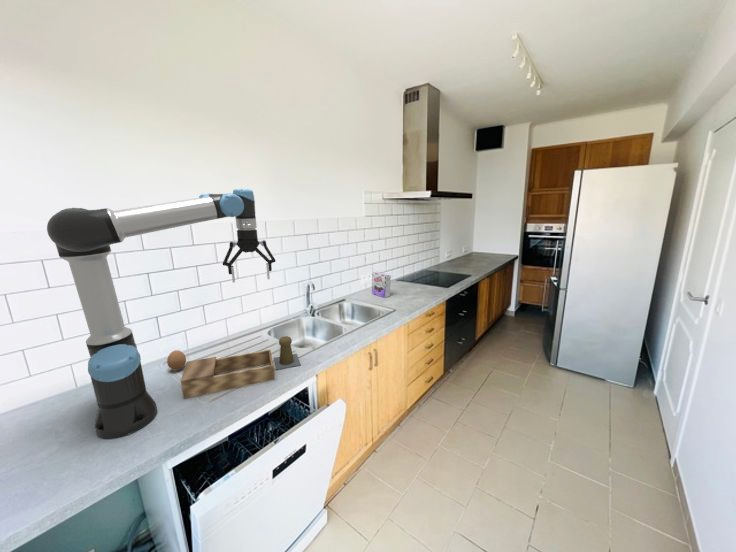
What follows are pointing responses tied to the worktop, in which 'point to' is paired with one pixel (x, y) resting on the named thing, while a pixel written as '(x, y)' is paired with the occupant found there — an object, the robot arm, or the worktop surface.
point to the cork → (285, 351)
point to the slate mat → (294, 364)
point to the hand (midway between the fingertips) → (251, 280)
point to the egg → (176, 360)
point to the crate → (203, 381)
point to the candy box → (381, 284)
